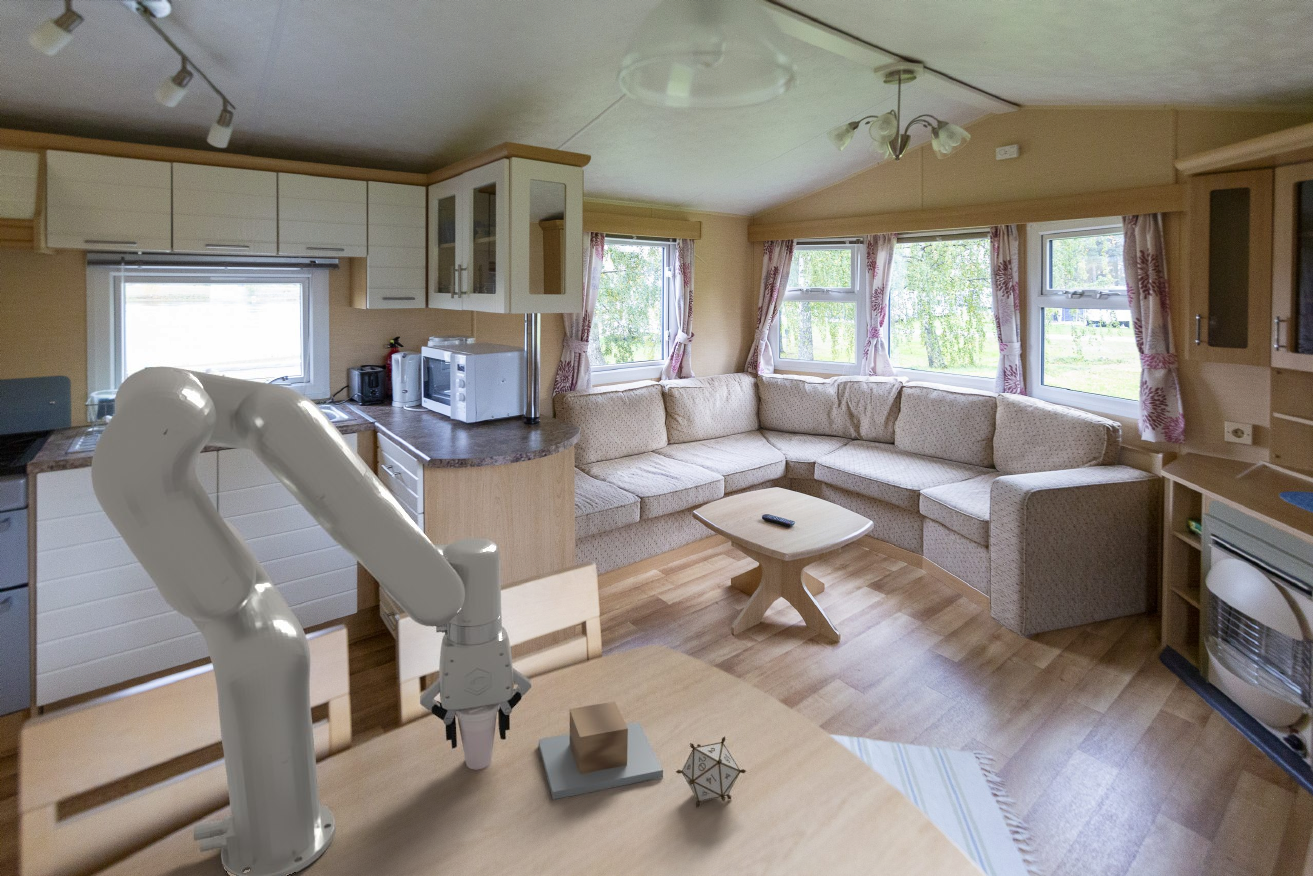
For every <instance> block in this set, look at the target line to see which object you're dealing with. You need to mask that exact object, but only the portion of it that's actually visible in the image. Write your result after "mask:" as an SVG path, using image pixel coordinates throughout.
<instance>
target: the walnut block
mask: <svg viewBox="0 0 1313 876" xmlns="http://www.w3.org/2000/svg"><path fill="white" fill-rule="evenodd" d="M626 724H627V723H626V722H625V720H624V718H623V716H622V713H621V711H620V708H619V707H618V705H617V702H616V701H615V700H614V701H610V702H609V701H608V702H603V703H598V704H596V703H595V704H591V705H585V706H580V707H573V708H569V734H570V747H571V750H572V753H573V756H574V759H575V762H576V765H577V768H578V770H579V773H580V774H585V773H590V772H595V771H600V770H605V769H610V768H615V767H620V766H625V765H627V746H628V728H627V726H626Z"/></svg>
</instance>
